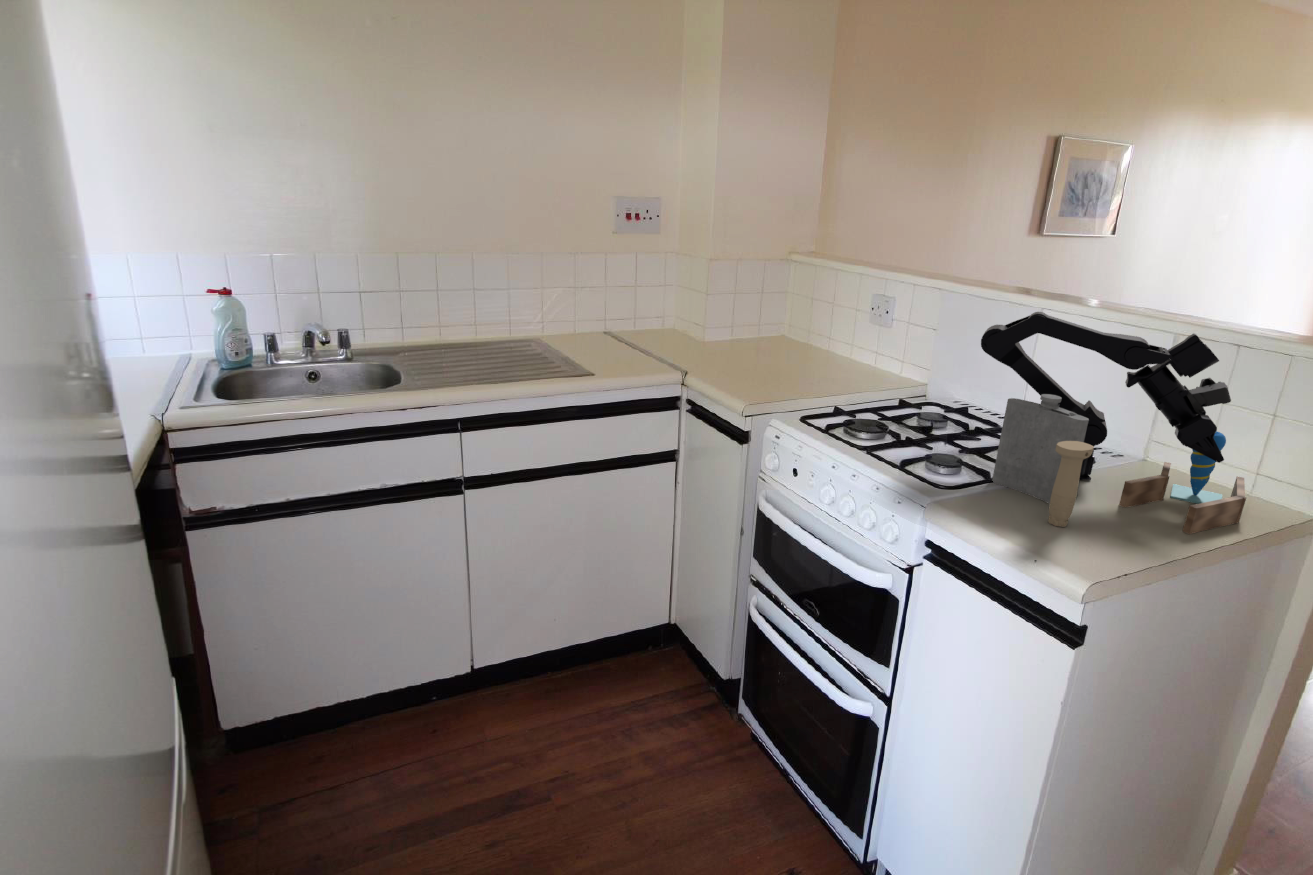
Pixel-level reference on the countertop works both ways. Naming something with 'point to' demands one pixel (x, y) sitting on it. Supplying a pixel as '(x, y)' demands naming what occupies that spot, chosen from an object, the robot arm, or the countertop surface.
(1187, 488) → the pad
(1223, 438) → the ornament
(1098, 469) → the countertop surface
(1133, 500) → the channel
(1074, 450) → the handle
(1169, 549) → the countertop surface
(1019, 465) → the hip flask
